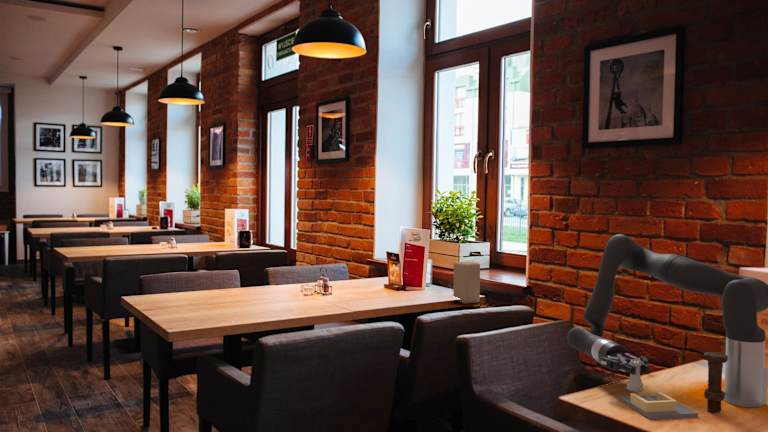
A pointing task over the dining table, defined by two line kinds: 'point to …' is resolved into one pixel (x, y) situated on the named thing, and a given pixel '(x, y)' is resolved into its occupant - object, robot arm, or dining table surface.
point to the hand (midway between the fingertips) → (641, 370)
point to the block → (467, 281)
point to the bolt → (714, 380)
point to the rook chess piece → (635, 378)
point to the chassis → (657, 406)
